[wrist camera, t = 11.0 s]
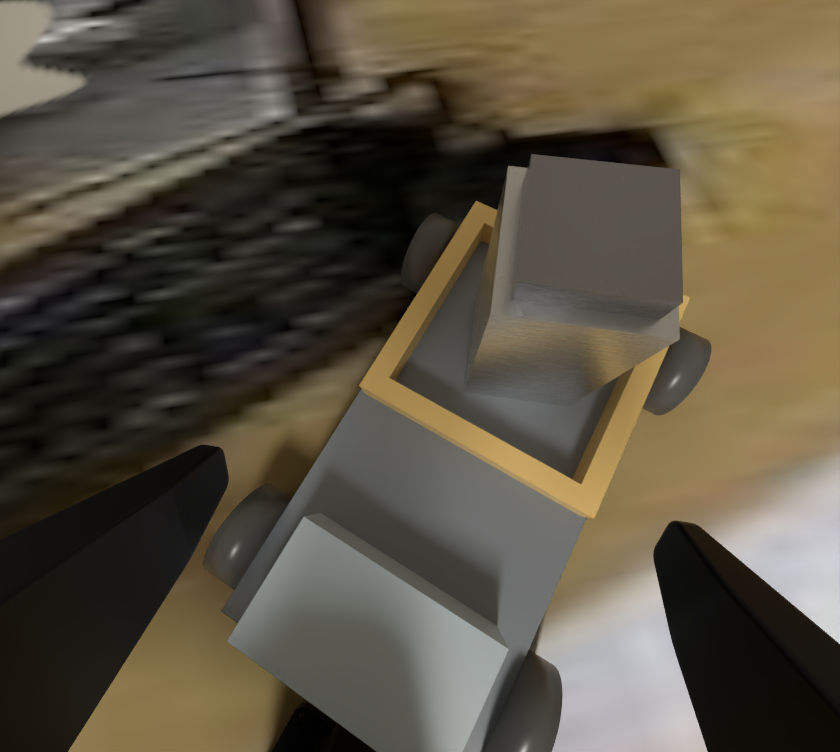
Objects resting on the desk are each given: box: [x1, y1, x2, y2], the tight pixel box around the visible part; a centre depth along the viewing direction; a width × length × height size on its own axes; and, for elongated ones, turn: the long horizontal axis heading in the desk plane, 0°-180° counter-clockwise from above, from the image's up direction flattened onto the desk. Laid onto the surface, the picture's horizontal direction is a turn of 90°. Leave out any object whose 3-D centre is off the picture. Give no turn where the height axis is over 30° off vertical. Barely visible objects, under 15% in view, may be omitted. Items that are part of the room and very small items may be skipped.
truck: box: [203, 201, 711, 752], centre depth 19 cm, size 23×15×6 cm, turn 150°
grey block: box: [464, 154, 683, 407], centre depth 15 cm, size 5×5×10 cm
